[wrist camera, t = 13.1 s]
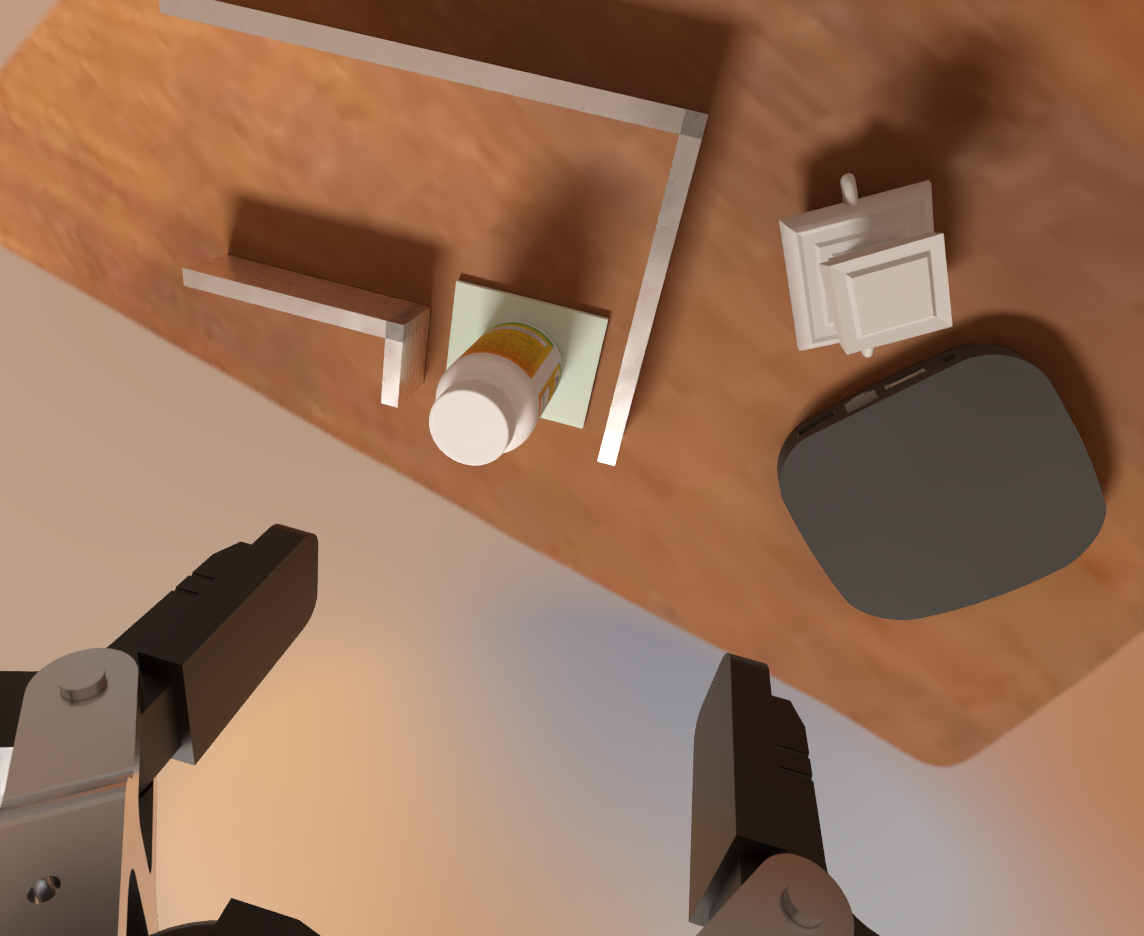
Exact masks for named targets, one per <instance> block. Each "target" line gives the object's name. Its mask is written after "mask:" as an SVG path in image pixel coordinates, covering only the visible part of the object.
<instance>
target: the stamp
mask: <svg viewBox="0 0 1144 936" xmlns="http://www.w3.org/2000/svg"><path fill="white" fill-rule="evenodd" d="M840 183H841V191H842V195H843V203H840V204H836V205H832V206H828V207H824V208H821V209H817V210H813V211H809V212H805V213H802V214H798V215H794V216H790V217H786V218H783V219H779V223H780V230H781V236H782V243H783V250H784V257H785V264H786V270H787V277H788V284H789V291H790V298H791V304H792V311H793V318H794V325H795V332H796V338H797V345H798V349H799V350H800V351H802V350H807V349H812V348H816V347H821V346H826V345H831V344H836V343H840V345H841V347H842V348H843V350H844V351H845V353H846V354H847V355H848V354H851V353H855V352H859V351H861V352H862V354H863V355H864V356H865V357H871V356H872V355H873V353H874V347H878V346H881V345H885V344H889V343H892V342H896V341H900V340H904V339H907V338H911V337H915V336H919V335H922V334H926V333H930V332H934V331H937V330H941V329H945V328H948V327H952V318H951V307H950V297H949V286H948V276H947V265H946V255H945V244H944V234H943V233H934V223H933V206H932V188H931V182H930V181H929V180H927V181H923V182H920V183H916V184H912V185H908V186H904V187H901V188H897V189H893V190H889V191H885V192H882V193H878V194H874V195H870V196H866V197H863V198H859V199H858V191H857V186H856V181H855V177H854V175H853V174H851V173H847V174H844V175H843V176H842V178H841V182H840Z"/></svg>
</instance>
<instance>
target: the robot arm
mask: <svg viewBox="0 0 1144 936" xmlns="http://www.w3.org/2000/svg"><path fill="white" fill-rule="evenodd" d="M317 583H318V539H317V536H316V535H315V534H312V533H309V532H305V531H301V530H298V529H294V528H291V527H288V526H284V525H280V524H275V525H273V526H271V527H270V528H269V529H268V530H267V531H266V532H265V533H263V535H261V536H260V537H259V538H258V539H257V540H256V541H255V542H254V543H253V544H252V545H251V544H247V543H244V542H239V543H237V544H234V545H232V546H230V547H228V548H226V549H224V550H222V551H219V552H217V553H215V554H213V555H212V556H210V557H209V558H208V559H207V560H206V561H205V562H204V563H202V564H201V565H200V566H199V567H198V568H197V569H196V570H195V571H193V574H192V576H188V577H187V578H186V579H184V580H183V581H182V582H181V583H180V584H179V585H178V586H176V589H175V591H171V592H170V593H169V594H167V595H166V596H165V597H164V598H163V599H162V600H161V601H159V602H158V603H157V604H156V605H155V606H154V607H153V608H152V609H150V610H149V611H148V612H147V613H146V614H145V615H144V616H142V617H141V618H140V619H139V620H138V621H137V622H136V623H135V624H133V625H132V626H131V627H130V628H129V629H128V630H127V631H125V632H124V633H123V634H122V635H121V636H120V637H119V638H118V639H116V640H115V641H114V642H113V643H112V644H111V645H109V646H108V647H107V648H93V649H86V650H81V651H77V652H74V653H71V654H68V655H65V656H63V657H60V658H58V659H57V660H55V661H53V662H51V663H49V664H48V665H47V666H45V667H44V668H42V669H41V670H40V671H37V672H36V671H35V672H28V671H25V672H23V671H0V936H320V935H319V934H317V933H316V932H315V931H313V930H312V929H310V928H309V927H308V926H307V925H305V924H304V923H302V922H301V921H300V920H297V919H295V918H292V917H288V916H285V915H282V914H279V913H276V912H273V911H270V910H267V909H264V908H261V907H257V906H254V905H251V904H248V903H245V902H242V901H239V900H236V899H233V898H231V899H230V901H229V903H228V904H227V906H226V908H225V909H224V911H223V912H222V914H221V916H220V918H219V919H218V920H209V921H201V922H193V923H187V924H183V925H179V926H174V927H170V928H167V929H164V930H162V931H159V932H158V915H157V904H156V825H157V821H156V819H157V779H156V775H157V774H158V773H159V772H160V771H161V769H162V768H163V767H164V766H165V765H166V764H167V762H168V761H169V760H170V759H171V758H172V759H175V760H179V761H182V762H185V763H189V764H192V765H195V764H196V763H197V762H198V761H199V759H200V758H201V757H202V756H203V754H204V753H205V752H206V751H207V749H208V748H209V747H210V746H211V744H212V743H213V742H214V741H215V739H216V738H217V737H218V735H219V734H220V733H221V732H222V730H223V729H224V728H225V727H226V725H227V724H228V723H229V722H230V720H231V719H232V718H233V717H234V715H235V714H236V713H237V712H238V710H239V709H240V708H241V706H242V705H243V704H244V703H245V701H246V700H247V699H248V698H249V696H250V695H251V694H252V693H253V691H254V690H255V689H256V687H257V686H258V685H259V684H260V683H261V681H262V680H263V679H264V678H265V676H266V675H267V674H268V673H269V671H270V670H271V669H272V668H273V666H274V665H275V664H276V662H277V661H278V660H279V659H280V657H281V656H282V655H283V654H284V652H285V651H286V650H287V649H288V647H289V646H290V645H291V644H292V642H293V641H294V640H295V638H296V637H297V636H298V635H299V633H300V632H301V631H302V630H303V628H304V627H305V626H306V624H307V623H308V621H309V619H310V617H311V615H312V613H313V610H314V608H315V604H316V600H317ZM808 755H809V750H808V743H807V737H806V730H805V726H804V724H803V723H802V721H801V719H800V717H799V716H798V714H797V712H796V710H795V708H794V707H793V705H792V703H791V702H790V701H789V700H786V699H782V698H779V697H775V696H772V695H771V685H770V675H769V668H768V666H767V664H765V663H761V662H758V661H754V660H751V659H747V658H744V657H740V656H737V655H733V654H730V653H726V654H725V655H724V657H723V659H722V661H721V663H720V665H719V667H718V670H717V672H716V674H715V677H714V679H713V681H712V684H711V686H710V688H709V691H708V693H707V696H706V698H705V700H704V702H703V704H702V707H701V710H700V712H699V716H698V720H697V724H696V729H695V736H694V758H693V759H694V760H693V793H692V826H691V862H690V863H691V864H690V895H689V922H691V923H694V924H697V925H700V926H704V928H703V929H702V930H701V931H700V932H699V933H698V934H697V935H696V936H879V935H878V934H876V933H875V932H873V931H872V930H871V929H869V928H868V927H866V926H865V925H864V924H863V923H862V922H861V921H860V920H859V919H857V918H856V916H855V915H854V914H853V913H852V911H851V907H850V905H849V903H848V900H847V898H846V897H845V895H844V893H843V891H842V890H841V888H840V887H839V886H838V884H837V883H836V882H835V880H834V879H833V878H832V877H831V876H830V875H829V874H828V872H827V867H826V862H825V856H824V850H823V843H822V836H821V829H820V823H819V816H818V809H817V803H816V797H815V790H814V783H813V781H812V770H811V763H810V759H809V758H808Z"/></svg>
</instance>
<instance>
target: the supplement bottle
mask: <svg viewBox="0 0 1144 936" xmlns="http://www.w3.org/2000/svg"><path fill="white" fill-rule="evenodd" d="M561 375H562V361H561V356H560V353H559V351H558V348H557V346H556V345H555V343H554V342H553V340H552V339H551V338H550V337H549V336H548V335H547V334H546V333H545V332H544V331H542V330H541V329H540V328H538V327H536V326H534V325H532V324H530V323H526V322H522V321H508V322H503V323H500V324H497V325H495V326H493V327H492V328H490V329H489V330H488V331H486V332H485V333H484V334H483V335H482V336H481V337H480V338H479V339H478V340H477V341H476V342H475V343H474V344H473V345H472V346H470V347H469V348H468V349H467V350H466V351H465V352H464V353H463V354H462V355H461V356H460V357H459V358H458V359H457V360H456V361H455V362H454V363H453V364H452V365H451V366H450V367H449V368H448V369H447V370H446V371H445V373H444V374H443V375H442V377H441V379H440V381H439V384H438V387H437V391H436V401H435V403H434V404H433V406H432V408H431V412H430V416H429V426H430V432H431V434H432V437H433V439H434V441H435V443H436V444H437V446H438V447H439V448H440V449H441V450H442V451H443V452H444V453H445V454H446V455H447V456H448V457H450V458H451V459H453V460H455V461H457V462H460V463H463V464H467V465H483V464H487V463H490V462H492V461H494V460H495V459H497V458H498V457H499V456H500V455H501V454H502V453H505V452H508V451H511V450H513V449H515V448H516V447H518V446H519V445H521V444H522V443H523V442H524V441H525V440H526V439H527V438H528V437H529V435H530V434H531V433H532V431H533V430H534V428H535V426H536V425H537V423H538V421H539V419H540V418H541V416H542V414H543V412H544V410H545V409H546V407H547V405H548V404H549V402H550V400H551V398H552V397H553V395H554V393H555V391H556V389H557V388H558V385H559V383H560V380H561Z"/></svg>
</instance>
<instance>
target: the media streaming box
mask: <svg viewBox="0 0 1144 936" xmlns="http://www.w3.org/2000/svg"><path fill="white" fill-rule="evenodd" d="M906 373H907V374H906ZM904 374H905V375H904ZM902 375H903V376H902ZM900 376H901V377H900ZM777 472H778V479H779V484H780V490H781V495H782V499H783V501H784V503H785V505H786V507H787V509H788V511H789V513H790V514H791V516H792V518H793V520H794V522H795V524H796V526H797V527H798V529H799V531H800V533H801V534H802V536H803V538H804V540H805V541H806V543H807V545H808V546H809V548H810V550H811V551H812V553H813V554H814V556H815V557H816V559H817V561H818V562H819V564H820V565H821V567H822V568H823V570H824V571H825V572H826V574H827V575H828V577H829V578H830V580H831V581H832V582H833V584H834V585H835V586H836V588H837V589H838V590H839V592H840V593H841V594H842V596H843V597H844V598H845V599H846V600H847V602H848V603H849V604H851V605H852V606H853V607H855V608H856V609H858V610H860V611H862V612H864V613H867V614H870V615H873V616H876V617H881V618H886V619H895V620H911V619H918V618H923V617H928V616H932V615H937V614H941V613H945V612H949V611H952V610H956V609H960V608H963V607H966V606H970V605H973V604H976V603H979V602H982V601H985V600H988V599H991V598H994V597H997V596H999V595H1002V594H1005V593H1007V592H1010V591H1013V590H1015V589H1017V588H1020V587H1022V586H1025V585H1027V584H1029V583H1032V582H1034V581H1036V580H1039V579H1041V578H1043V577H1045V576H1047V575H1049V574H1051V573H1053V572H1055V571H1057V570H1059V569H1061V568H1063V567H1065V566H1067V565H1068V564H1070V563H1071V562H1073V561H1074V560H1075V559H1077V558H1078V557H1079V556H1080V555H1081V554H1082V553H1083V552H1084V551H1085V550H1086V549H1087V548H1088V547H1089V546H1090V545H1091V544H1092V542H1093V541H1094V540H1095V538H1096V537H1097V535H1098V533H1099V531H1100V529H1101V527H1102V525H1103V522H1104V519H1105V514H1106V504H1105V500H1104V497H1103V494H1102V490H1101V487H1100V484H1099V481H1098V479H1097V476H1096V473H1095V470H1094V468H1093V465H1092V463H1091V460H1090V458H1089V456H1088V453H1087V451H1086V449H1085V446H1084V444H1083V442H1082V440H1081V438H1080V436H1079V433H1078V431H1077V429H1076V427H1075V425H1074V423H1073V421H1072V419H1071V417H1070V416H1069V414H1068V412H1067V410H1066V408H1065V406H1064V404H1063V403H1062V401H1061V399H1060V397H1059V396H1058V394H1057V392H1056V390H1055V389H1054V387H1053V385H1052V384H1051V382H1050V380H1049V379H1048V377H1047V376H1046V375H1045V374H1044V373H1043V372H1042V371H1040V370H1039V369H1038V368H1037V367H1035V366H1034V365H1033V364H1032V363H1030V362H1029V361H1028V360H1026V359H1025V358H1024V357H1023V356H1021V355H1019V354H1018V353H1016V352H1014V351H1012V350H1010V349H1007V348H1005V347H1001V346H997V345H991V344H969V345H963V346H958V347H954V348H951V349H949V350H947V351H944V352H942V353H940V354H938V355H935V356H933V357H931V358H929V359H926V360H924V361H922V362H920V363H918V364H916V365H913V366H911V367H909V368H907V369H905V370H903V371H901V372H899V373H896V374H894V375H892V376H890V377H888V378H886V379H884V380H882V381H880V382H878V383H876V384H874V385H872V386H870V387H868V388H866V389H864V390H862V391H860V392H858V393H856V394H855V395H853V396H851V397H849V398H847V399H845V400H843V401H841V402H839V403H838V404H836V405H834V406H832V407H830V408H828V409H827V410H825V411H823V412H821V413H819V414H818V415H816V416H814V417H812V418H811V419H809V420H807V421H805V422H804V423H802V424H801V425H799V426H798V427H797V428H796V429H795V430H794V431H793V432H792V433H791V434H790V436H789V437H788V438H787V440H786V441H785V443H784V445H783V447H782V449H781V451H780V454H779V458H778V465H777Z"/></svg>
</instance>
